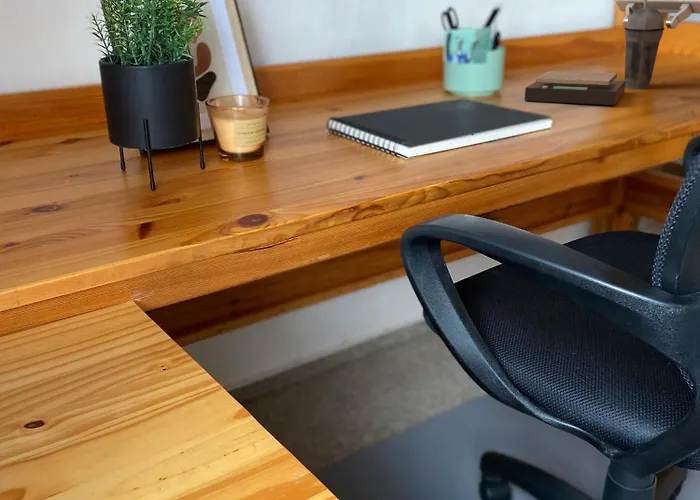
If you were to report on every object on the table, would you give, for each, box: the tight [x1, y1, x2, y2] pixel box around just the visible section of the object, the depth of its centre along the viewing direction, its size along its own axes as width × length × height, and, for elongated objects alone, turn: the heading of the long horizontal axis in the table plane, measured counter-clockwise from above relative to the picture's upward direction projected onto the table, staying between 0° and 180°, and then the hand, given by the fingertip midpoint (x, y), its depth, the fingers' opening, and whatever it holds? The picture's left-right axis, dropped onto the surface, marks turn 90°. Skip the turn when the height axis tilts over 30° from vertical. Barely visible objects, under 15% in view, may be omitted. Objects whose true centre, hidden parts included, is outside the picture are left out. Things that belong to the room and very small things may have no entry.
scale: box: [524, 80, 626, 106], centre depth 135 cm, size 16×14×3 cm
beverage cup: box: [623, 0, 665, 90], centre depth 139 cm, size 7×7×20 cm
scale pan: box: [535, 70, 618, 85], centre depth 134 cm, size 13×11×1 cm
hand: (647, 25), depth 139 cm, fingers open, 8 cm apart
